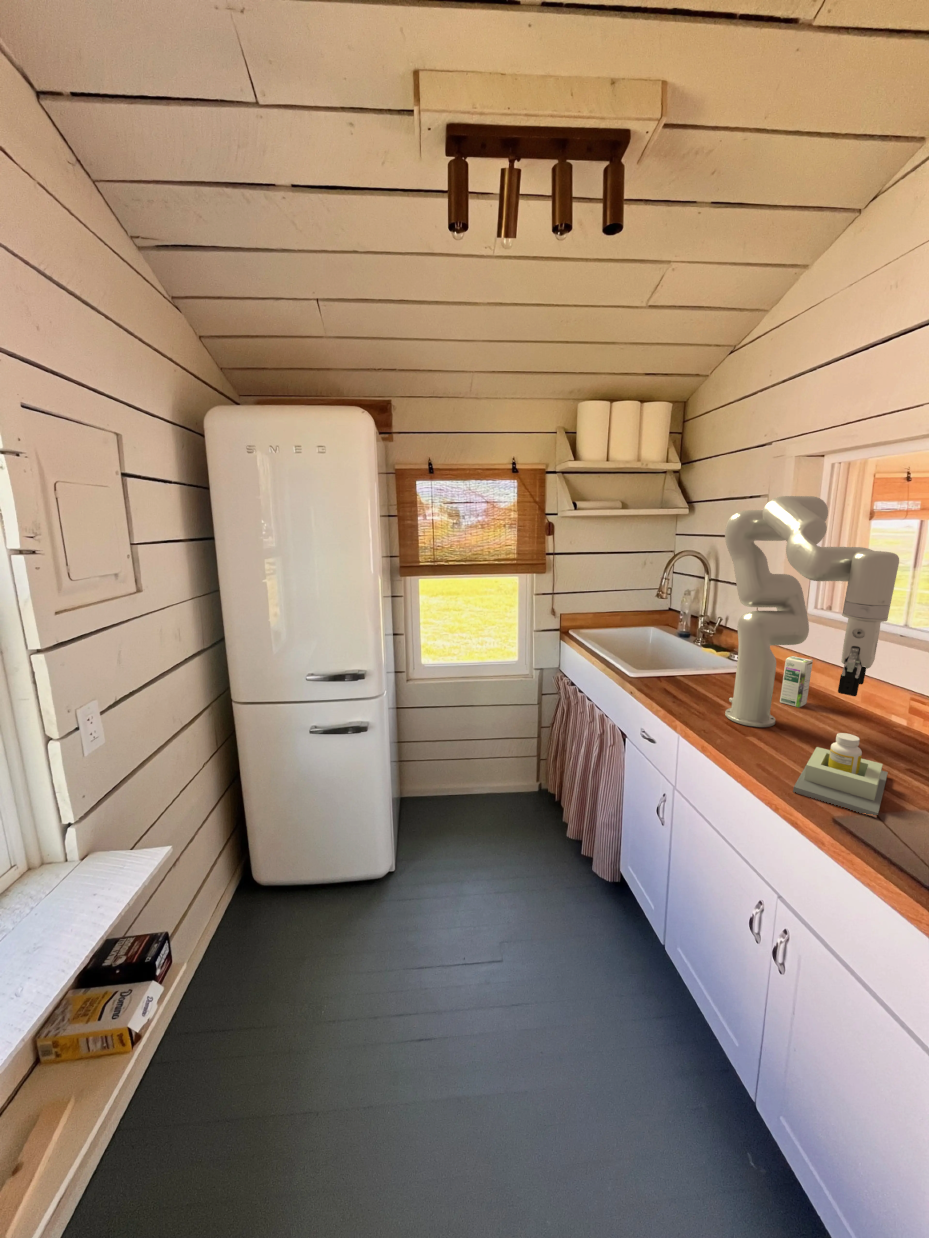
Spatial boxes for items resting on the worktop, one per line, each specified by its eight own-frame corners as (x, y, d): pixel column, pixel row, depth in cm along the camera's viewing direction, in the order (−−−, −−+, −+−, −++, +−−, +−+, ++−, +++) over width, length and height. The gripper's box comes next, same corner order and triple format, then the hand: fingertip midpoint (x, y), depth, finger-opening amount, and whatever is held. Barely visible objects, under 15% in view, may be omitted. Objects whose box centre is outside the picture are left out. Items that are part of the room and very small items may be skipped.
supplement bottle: (844, 772, 113) (851, 731, 111) (863, 784, 108) (871, 742, 106) (820, 772, 113) (827, 731, 111) (838, 785, 108) (845, 742, 106)
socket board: (877, 818, 98) (881, 796, 97) (792, 791, 107) (795, 771, 106) (886, 776, 114) (890, 757, 113) (812, 756, 123) (815, 738, 122)
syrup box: (778, 702, 159) (785, 658, 156) (787, 698, 162) (793, 655, 159) (799, 708, 154) (806, 662, 151) (807, 704, 158) (813, 659, 155)
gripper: (884, 620, 97) (867, 704, 101) (892, 607, 109) (877, 682, 113) (836, 614, 102) (822, 694, 106) (849, 602, 114) (836, 674, 118)
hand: (850, 688), depth 109 cm, fingers open, 9 cm apart
